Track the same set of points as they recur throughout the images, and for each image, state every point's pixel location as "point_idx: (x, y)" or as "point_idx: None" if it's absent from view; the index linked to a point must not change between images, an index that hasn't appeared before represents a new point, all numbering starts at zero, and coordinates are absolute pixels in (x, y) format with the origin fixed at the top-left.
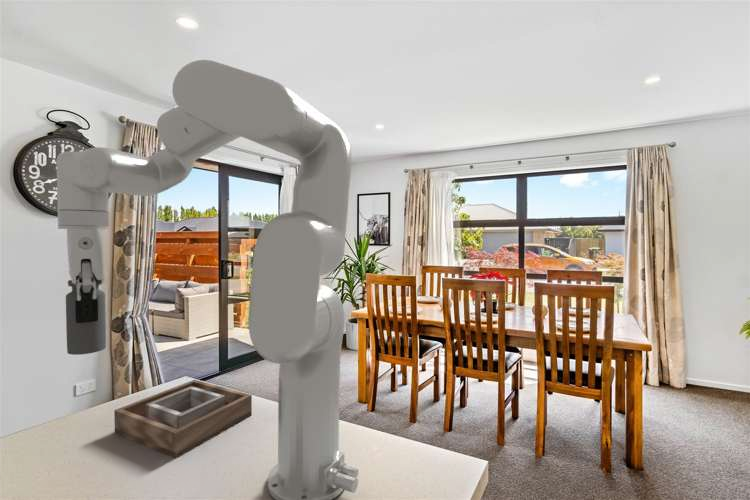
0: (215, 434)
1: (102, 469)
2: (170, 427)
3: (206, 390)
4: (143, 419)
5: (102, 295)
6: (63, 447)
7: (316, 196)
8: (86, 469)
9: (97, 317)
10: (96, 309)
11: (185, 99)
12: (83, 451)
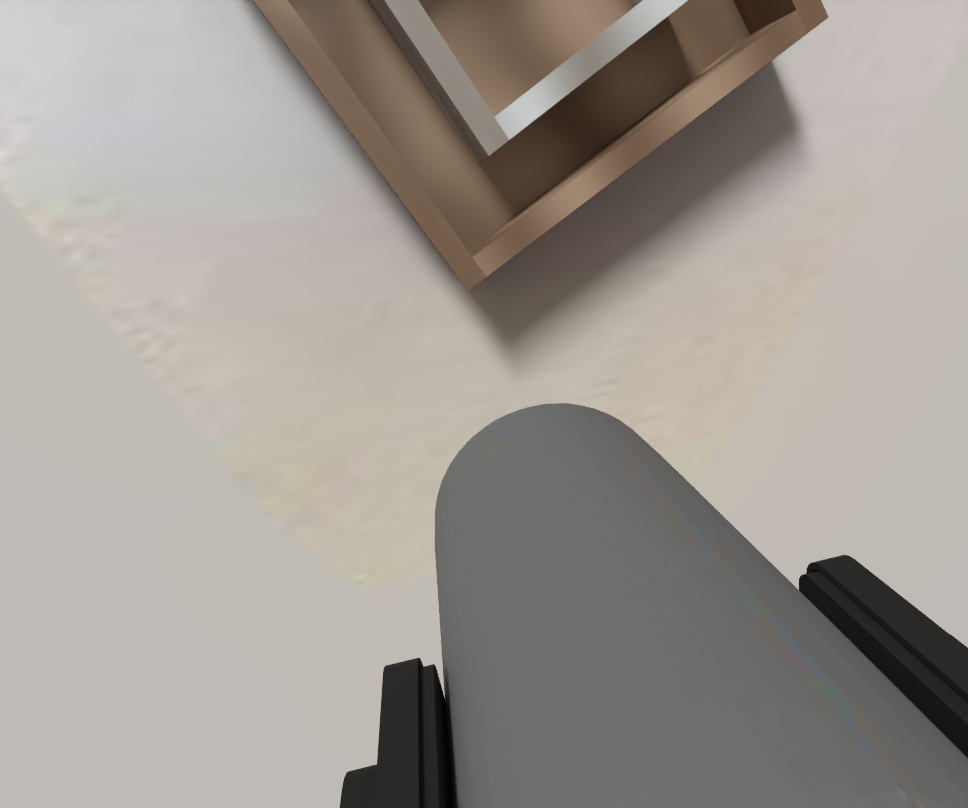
0: None
1: (706, 280)
2: (764, 37)
3: None
4: (626, 158)
5: (951, 789)
6: None
7: None
8: (681, 325)
9: (871, 574)
10: (952, 651)
11: None
12: (558, 357)
